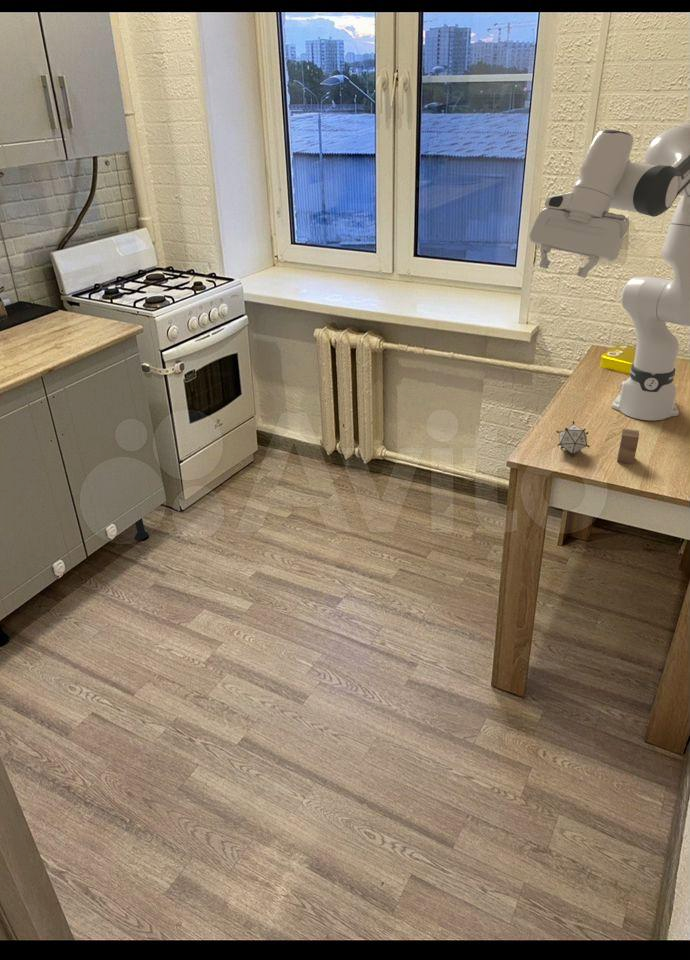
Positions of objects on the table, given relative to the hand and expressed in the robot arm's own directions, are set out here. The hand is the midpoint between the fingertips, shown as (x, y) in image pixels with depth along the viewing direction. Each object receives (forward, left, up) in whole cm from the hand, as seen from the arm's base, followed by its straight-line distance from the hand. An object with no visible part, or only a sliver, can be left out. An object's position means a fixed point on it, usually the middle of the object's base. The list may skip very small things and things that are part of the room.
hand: (561, 272), depth 155 cm
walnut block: (-17, +21, -52) cm, 59 cm away
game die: (-17, +7, -52) cm, 55 cm away
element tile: (-87, +19, -53) cm, 103 cm away
